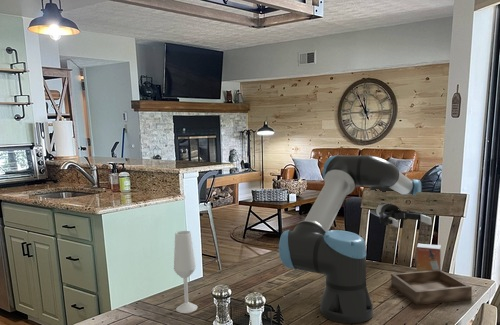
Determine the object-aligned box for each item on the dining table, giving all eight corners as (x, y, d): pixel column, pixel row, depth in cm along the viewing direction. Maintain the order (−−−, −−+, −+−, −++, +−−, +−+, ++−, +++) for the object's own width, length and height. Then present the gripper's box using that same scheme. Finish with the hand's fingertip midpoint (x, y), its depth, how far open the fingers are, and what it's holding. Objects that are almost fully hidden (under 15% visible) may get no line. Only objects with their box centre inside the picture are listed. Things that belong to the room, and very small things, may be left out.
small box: (416, 275, 144) (415, 246, 143) (417, 270, 149) (417, 242, 148) (440, 278, 140) (440, 248, 140) (441, 273, 145) (441, 244, 145)
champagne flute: (182, 302, 128) (178, 229, 127) (201, 304, 126) (197, 230, 125) (172, 311, 122) (167, 235, 120) (191, 314, 120) (187, 235, 118)
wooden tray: (416, 305, 120) (416, 292, 120) (391, 285, 136) (391, 273, 135) (471, 299, 122) (471, 286, 122) (440, 280, 138) (440, 269, 138)
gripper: (415, 218, 176) (444, 229, 155) (361, 222, 173) (383, 234, 152) (415, 201, 176) (444, 210, 155) (361, 205, 173) (383, 215, 152)
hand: (414, 222), depth 153 cm, fingers open, 13 cm apart
